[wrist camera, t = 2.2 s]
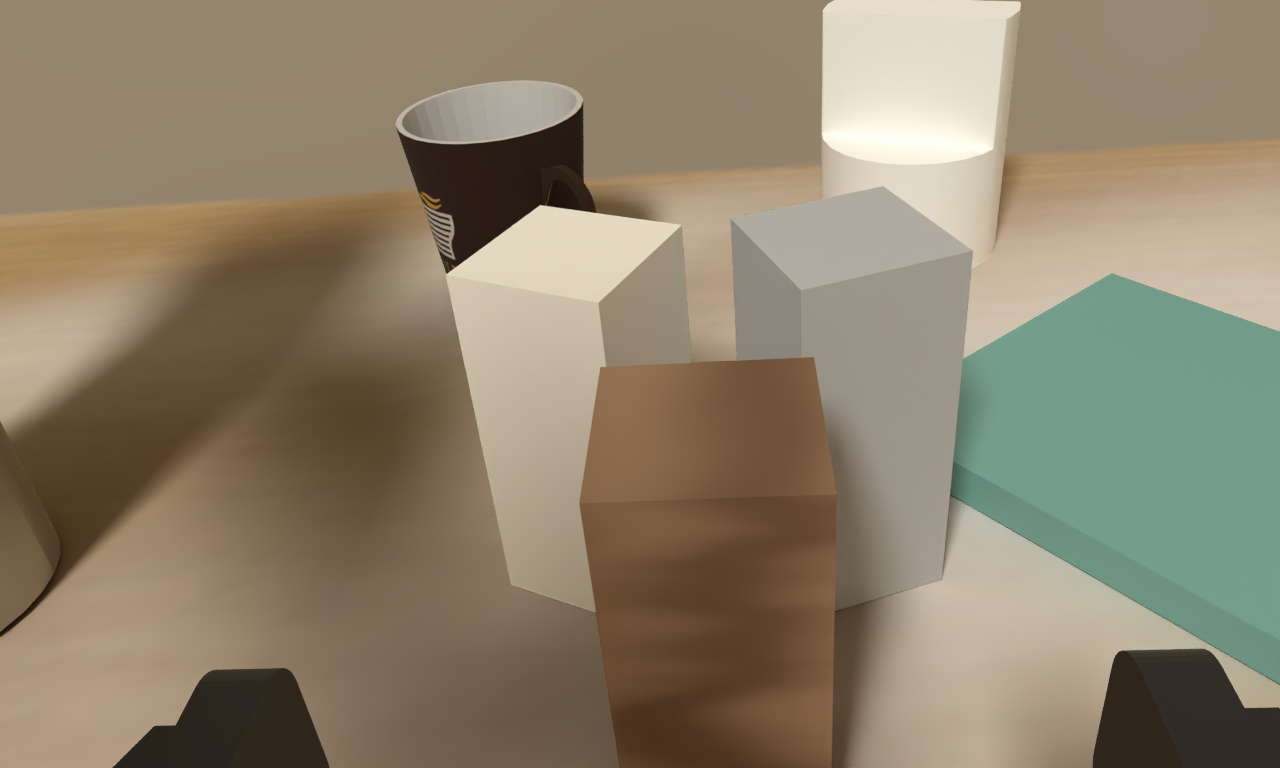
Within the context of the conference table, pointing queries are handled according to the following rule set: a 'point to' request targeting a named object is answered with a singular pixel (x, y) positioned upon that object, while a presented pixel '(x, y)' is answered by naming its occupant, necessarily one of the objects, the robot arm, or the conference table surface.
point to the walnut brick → (714, 562)
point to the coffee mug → (493, 159)
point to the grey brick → (867, 366)
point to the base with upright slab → (920, 107)
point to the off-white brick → (559, 366)
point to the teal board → (1138, 455)
